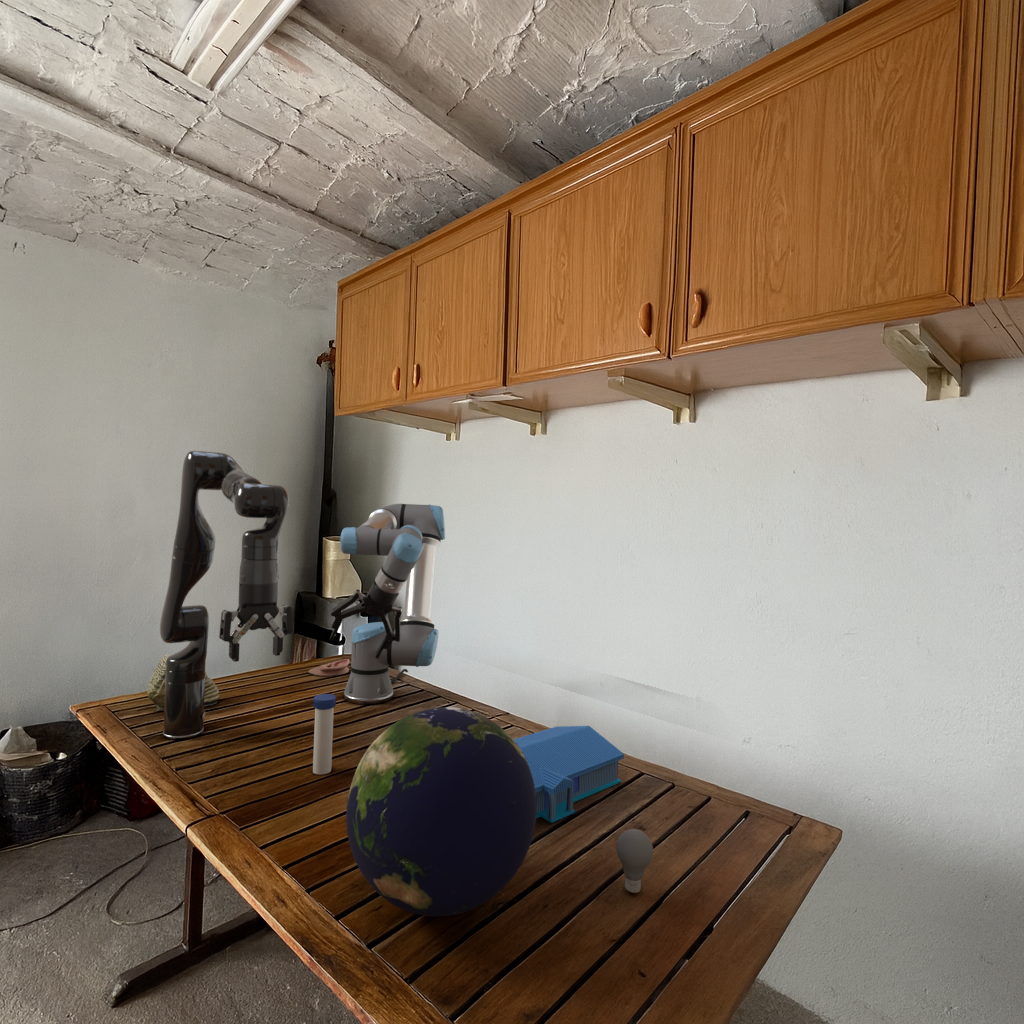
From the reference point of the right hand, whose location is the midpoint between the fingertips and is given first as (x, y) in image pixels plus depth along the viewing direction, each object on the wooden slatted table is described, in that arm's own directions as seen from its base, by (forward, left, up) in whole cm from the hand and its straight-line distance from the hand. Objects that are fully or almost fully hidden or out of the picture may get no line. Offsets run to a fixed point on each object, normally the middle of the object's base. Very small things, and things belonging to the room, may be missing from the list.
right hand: (354, 646), depth 177 cm
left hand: (+45, -11, +8) cm, 47 cm away
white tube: (+31, 0, -22) cm, 38 cm away
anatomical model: (-50, -19, -21) cm, 58 cm away
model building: (+38, +49, -21) cm, 66 cm away
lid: (+31, 0, -5) cm, 31 cm away
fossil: (-9, -51, -22) cm, 56 cm away
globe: (+77, +31, -21) cm, 86 cm away
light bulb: (+74, +63, -21) cm, 99 cm away
